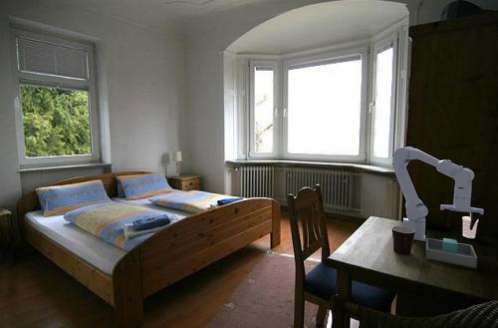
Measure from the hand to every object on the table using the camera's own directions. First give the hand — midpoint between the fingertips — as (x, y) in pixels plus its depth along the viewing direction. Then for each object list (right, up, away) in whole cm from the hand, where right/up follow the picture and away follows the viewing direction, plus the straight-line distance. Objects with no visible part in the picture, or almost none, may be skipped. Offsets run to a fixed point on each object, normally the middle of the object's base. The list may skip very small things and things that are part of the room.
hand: (459, 227), depth 121 cm
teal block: (-9, -10, -6) cm, 14 cm away
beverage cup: (+16, -8, +15) cm, 23 cm away
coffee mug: (-27, -10, -2) cm, 29 cm away
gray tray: (-9, -10, -6) cm, 15 cm away
